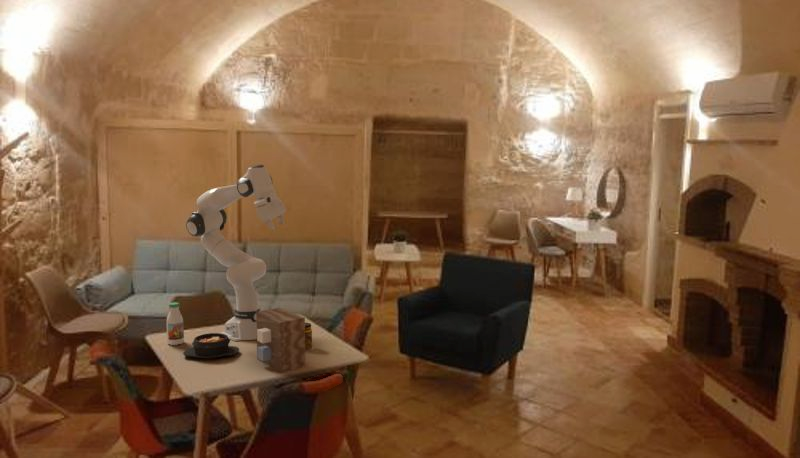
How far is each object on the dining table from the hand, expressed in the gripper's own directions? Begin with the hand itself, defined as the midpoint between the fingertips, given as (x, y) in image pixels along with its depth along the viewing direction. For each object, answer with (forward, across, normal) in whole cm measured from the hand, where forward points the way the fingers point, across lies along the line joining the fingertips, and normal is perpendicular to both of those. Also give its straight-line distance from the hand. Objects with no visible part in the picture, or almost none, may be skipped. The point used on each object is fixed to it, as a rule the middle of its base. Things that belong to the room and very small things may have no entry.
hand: (278, 226), depth 290 cm
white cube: (+44, +28, -10) cm, 53 cm away
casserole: (+46, +22, -43) cm, 67 cm away
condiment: (+60, +2, -8) cm, 60 cm away
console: (+57, +23, -10) cm, 62 cm away
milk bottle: (+39, +11, -68) cm, 80 cm away
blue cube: (+51, +28, -12) cm, 60 cm away
